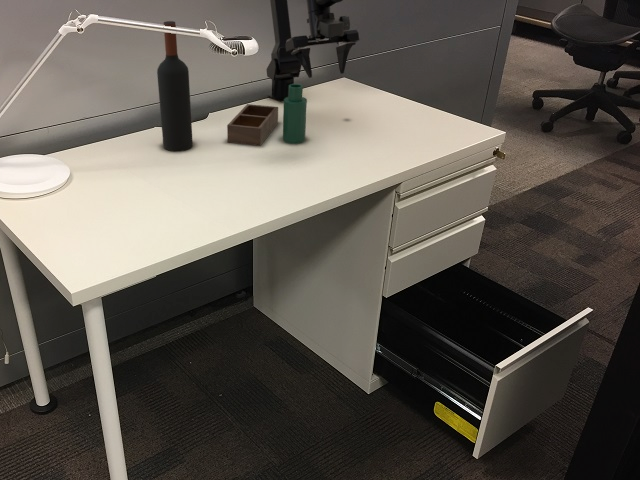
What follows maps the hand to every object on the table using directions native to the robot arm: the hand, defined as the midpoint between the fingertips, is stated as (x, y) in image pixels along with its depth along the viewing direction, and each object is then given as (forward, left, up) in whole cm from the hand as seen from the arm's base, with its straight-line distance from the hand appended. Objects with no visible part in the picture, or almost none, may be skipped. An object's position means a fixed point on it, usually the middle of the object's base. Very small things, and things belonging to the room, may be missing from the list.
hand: (326, 75), depth 173 cm
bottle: (+1, -12, -14) cm, 18 cm away
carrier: (-10, -17, -14) cm, 24 cm away
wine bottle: (-16, -37, -14) cm, 43 cm away
